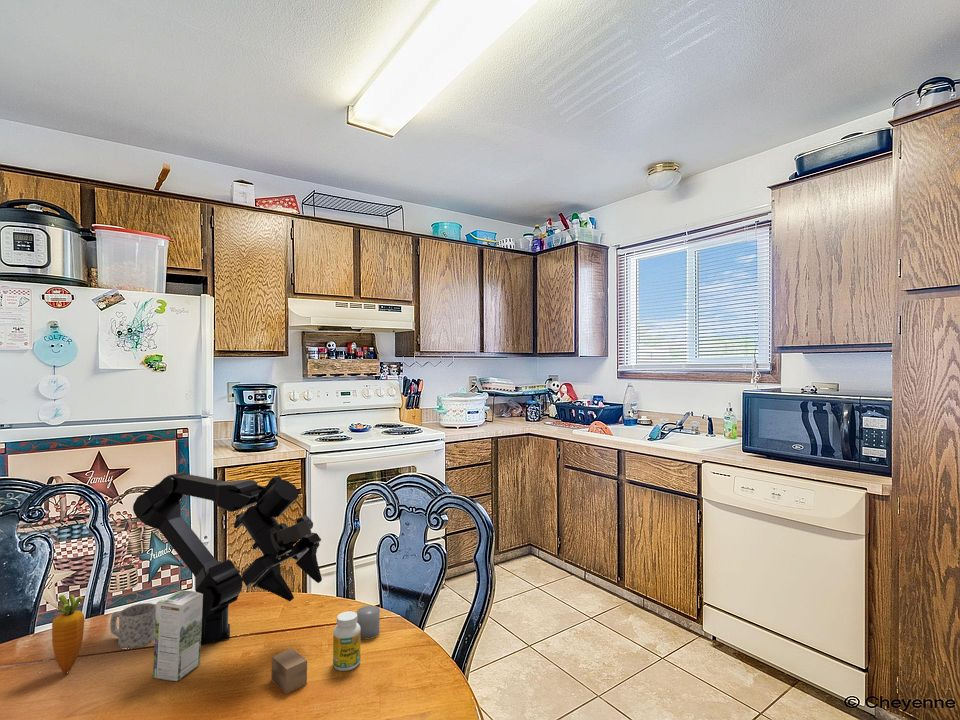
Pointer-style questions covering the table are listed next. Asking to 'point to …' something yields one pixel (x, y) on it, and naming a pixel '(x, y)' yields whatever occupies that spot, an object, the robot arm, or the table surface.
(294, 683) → the walnut block
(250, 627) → the table surface
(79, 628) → the carrot
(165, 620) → the syrup box
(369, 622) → the gray capsule
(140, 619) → the mug
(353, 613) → the supplement bottle
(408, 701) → the table surface
